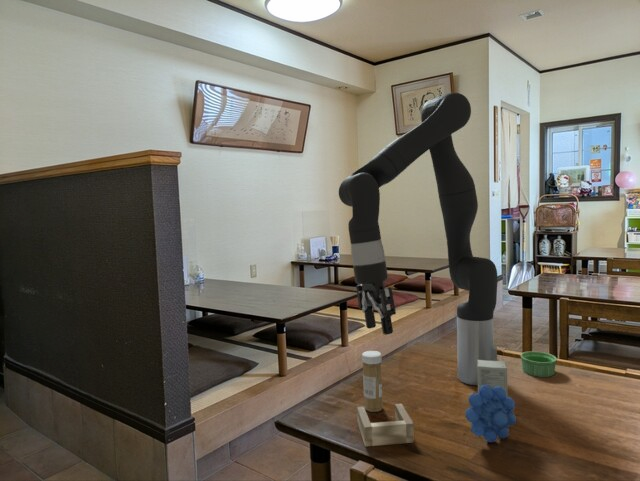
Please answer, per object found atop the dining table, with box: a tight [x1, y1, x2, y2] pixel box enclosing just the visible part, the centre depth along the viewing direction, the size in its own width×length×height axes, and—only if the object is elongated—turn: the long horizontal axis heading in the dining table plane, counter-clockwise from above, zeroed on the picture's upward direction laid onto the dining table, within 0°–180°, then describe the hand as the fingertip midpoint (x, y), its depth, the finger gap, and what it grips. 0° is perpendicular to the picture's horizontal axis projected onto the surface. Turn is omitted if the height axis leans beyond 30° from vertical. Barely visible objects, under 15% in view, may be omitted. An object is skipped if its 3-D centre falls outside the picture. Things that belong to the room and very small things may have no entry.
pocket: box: [356, 403, 415, 447], centre depth 94 cm, size 10×9×4 cm
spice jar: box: [361, 350, 384, 413], centre depth 105 cm, size 5×5×13 cm
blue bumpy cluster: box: [465, 385, 517, 443], centre depth 88 cm, size 12×7×12 cm, turn 107°
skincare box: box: [477, 360, 509, 397], centre depth 99 cm, size 6×4×12 cm
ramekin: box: [520, 350, 558, 378], centre depth 123 cm, size 9×9×4 cm
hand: (379, 330), depth 102 cm, fingers open, 8 cm apart
